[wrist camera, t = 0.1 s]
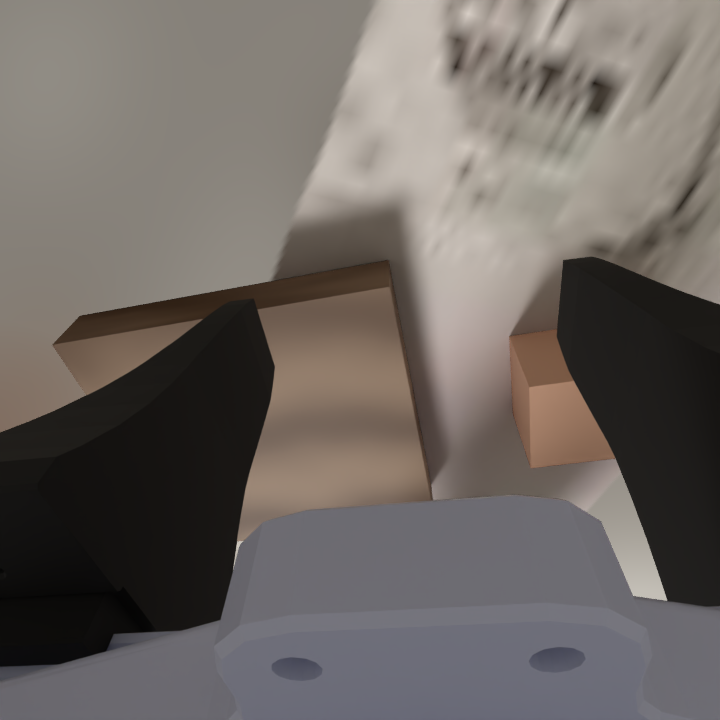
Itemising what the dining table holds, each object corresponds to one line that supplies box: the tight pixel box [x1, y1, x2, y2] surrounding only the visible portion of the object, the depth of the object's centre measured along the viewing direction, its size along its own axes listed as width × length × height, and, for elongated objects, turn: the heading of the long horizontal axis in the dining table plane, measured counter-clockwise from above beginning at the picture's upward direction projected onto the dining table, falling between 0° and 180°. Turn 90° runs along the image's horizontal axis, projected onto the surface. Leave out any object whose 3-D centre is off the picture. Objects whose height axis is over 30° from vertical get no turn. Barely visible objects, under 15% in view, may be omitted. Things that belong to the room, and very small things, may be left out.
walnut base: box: [53, 260, 433, 541], centre depth 26 cm, size 15×15×2 cm
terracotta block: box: [509, 329, 615, 468], centre depth 23 cm, size 5×5×4 cm
